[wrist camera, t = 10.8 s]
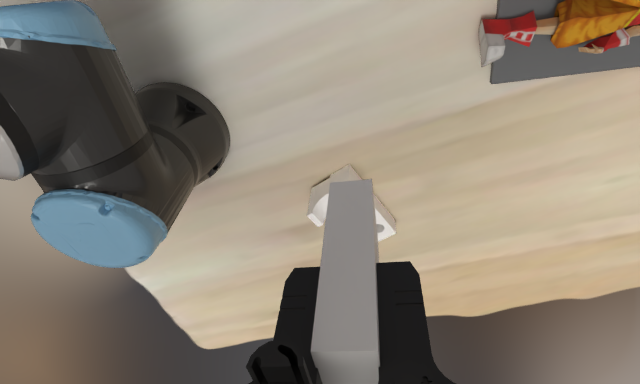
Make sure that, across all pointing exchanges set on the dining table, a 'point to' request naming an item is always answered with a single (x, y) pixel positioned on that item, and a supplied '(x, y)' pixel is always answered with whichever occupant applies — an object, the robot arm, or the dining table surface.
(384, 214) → the bracket
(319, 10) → the dining table surface
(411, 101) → the dining table surface
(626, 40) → the toy
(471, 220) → the dining table surface
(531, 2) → the mat
